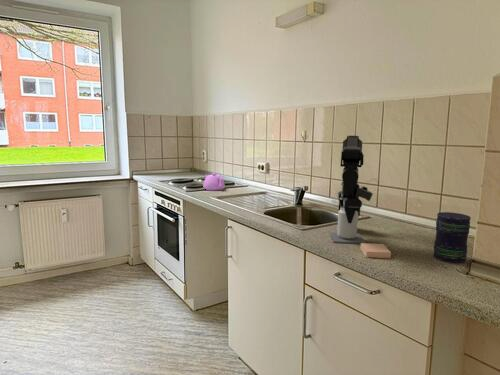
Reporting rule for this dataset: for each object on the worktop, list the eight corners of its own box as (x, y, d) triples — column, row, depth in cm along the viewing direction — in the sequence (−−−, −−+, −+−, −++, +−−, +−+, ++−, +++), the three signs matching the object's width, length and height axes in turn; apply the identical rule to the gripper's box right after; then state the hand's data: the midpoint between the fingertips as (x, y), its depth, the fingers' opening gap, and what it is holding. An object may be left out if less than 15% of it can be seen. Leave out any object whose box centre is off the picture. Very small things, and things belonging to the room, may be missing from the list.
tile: (360, 243, 128) (366, 251, 119) (383, 244, 127) (391, 252, 119) (360, 249, 129) (366, 258, 120) (382, 250, 128) (390, 259, 119)
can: (356, 235, 143) (358, 206, 141) (356, 240, 136) (358, 210, 134) (337, 233, 145) (338, 205, 143) (336, 239, 137) (338, 208, 136)
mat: (329, 233, 147) (329, 232, 146) (359, 235, 145) (359, 233, 145) (333, 242, 135) (333, 241, 135) (365, 244, 134) (365, 242, 134)
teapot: (231, 190, 252) (231, 173, 250) (213, 192, 242) (213, 175, 240) (214, 186, 269) (214, 170, 267) (196, 188, 259) (196, 172, 257)
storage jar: (436, 251, 126) (440, 210, 124) (468, 257, 120) (473, 215, 118) (429, 259, 119) (433, 215, 116) (463, 266, 113) (468, 220, 110)
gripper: (377, 185, 126) (374, 227, 129) (366, 178, 145) (363, 215, 147) (346, 184, 128) (343, 226, 130) (338, 177, 146) (336, 214, 148)
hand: (347, 220), depth 139 cm, fingers open, 9 cm apart
